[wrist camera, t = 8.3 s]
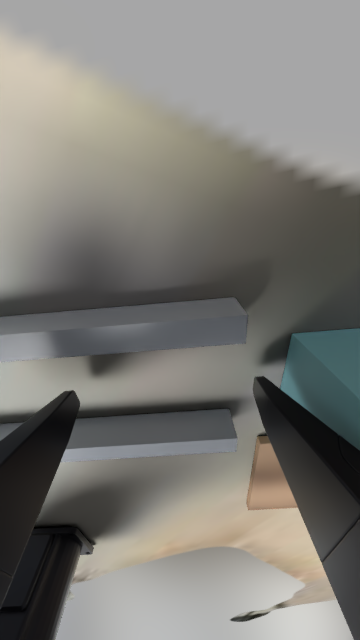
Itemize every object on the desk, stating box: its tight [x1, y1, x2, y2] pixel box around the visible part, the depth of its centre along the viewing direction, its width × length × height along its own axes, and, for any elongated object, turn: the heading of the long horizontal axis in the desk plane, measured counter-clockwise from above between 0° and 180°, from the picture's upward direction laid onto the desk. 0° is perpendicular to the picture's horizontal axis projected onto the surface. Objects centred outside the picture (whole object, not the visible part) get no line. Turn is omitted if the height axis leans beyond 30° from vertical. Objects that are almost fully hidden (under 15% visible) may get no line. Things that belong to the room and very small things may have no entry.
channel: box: [0, 297, 248, 462], centre depth 10 cm, size 8×24×2 cm, turn 95°
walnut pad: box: [246, 436, 298, 510], centre depth 15 cm, size 10×10×1 cm
